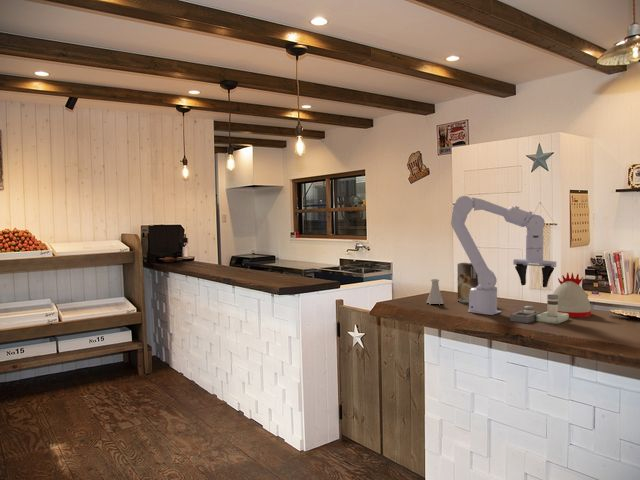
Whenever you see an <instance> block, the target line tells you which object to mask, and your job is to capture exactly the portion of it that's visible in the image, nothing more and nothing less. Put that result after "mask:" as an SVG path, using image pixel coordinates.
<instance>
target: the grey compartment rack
mask: <svg viewBox="0 0 640 480" xmlns="http://www.w3.org/2000/svg"><path fill="white" fill-rule="evenodd" d="M541 313H542V311H536V310H535V306H533V305H524V306H523V309H522V310H519V311H516V312H513V313H510V314H509V321H511V322H518V323H524V324H529V323H532V322H535V321H536V315H538V314H541Z"/></svg>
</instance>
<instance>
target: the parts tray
mask: <svg viewBox="0 0 640 480" xmlns="http://www.w3.org/2000/svg"><path fill="white" fill-rule="evenodd" d="M569 319H570V317H569V314H567V313H559V312H558V317H549V316H547V311H545V312H541V314H538V315H536V320H535V321H536V322H540V323H548V324H554V325H555V324H556V325H559V324H561V323H563V322H566V321H568V320H569Z"/></svg>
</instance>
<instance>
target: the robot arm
mask: <svg viewBox="0 0 640 480" xmlns="http://www.w3.org/2000/svg"><path fill="white" fill-rule="evenodd" d="M472 210H473V211H474V212H475V211H485V212H489V213H492V214H494V215H498V216H501V217H503V218H504V220H505V222H506V223H510V224H512V225H515V226H518V227H521V228H524V227H525V228H526V236H525V259H521V258H520V259H519V258H517V259H516V258H515V259H513V261H512V263H513V266H514V268H515V270H516V272H517V275H518V277H519V280H520V285H521V286H525V285H526V284H527V269H528V266H531V267H541V272H542V273H541V274H542V288H547V287H548V284H549V281H550V278H551V275H552V273H553V272H554V270H555V268H557V261H556V260H555V261H553V260H545V259H544V228H545V227H546V221H545V219H544V217H542V216H541V215H539V214H535V213H533V211H532V210H531V211H526V210H523V209H521V208H520V207H519V206H517V205H516V206H509V207H507V208H506V207H504V206H501V205H498V204H497V203H492V202H491V201H488V200H485V199H481V198H477V197H470V196H468V195H462V196H460V197H458V198H457V199H456V200H455V203H454V205H453V207H452V212H451V213H452V215H451V221H450V225H451V227H452V229H453V232H454V233H455V235H456V237H457V239H458V241H459V243H460V244H461V246H462V248H463V250H464V251H465V254H466V256H467V257H468V259H469V261H470V263H472V265H473V267H474V269H475V271H476V273H477V275H478V282H479V285H478V286H477V287H476V288H472V289H471V290H470V293H469V303H468V310H467V311H468V312H469V313H474V314H482V315H489V316H493V315H496V314H500V313H502V310H498V287H496V286H497V285H496V284H497V280H498V279H497V277H496V275H495V273H494V271H493V270H491V269H490V268H489V267H488V265H487V263H486V262H485V260H484V258H483V256H482V254H481V252H480V249H478V246H477V245H476V242H475V241H474V239H473V238H472V237H473V236H472V235H471V233H470V232H469V229H468V228H467V226H466V221H467V218H468V215H469V214H470V213H471V211H472Z"/></svg>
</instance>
